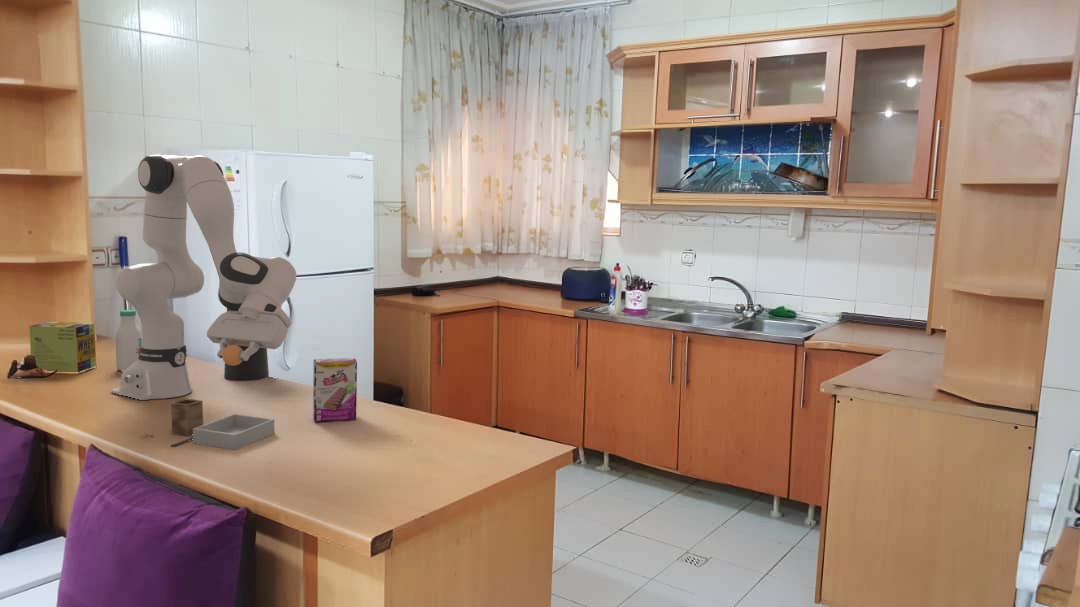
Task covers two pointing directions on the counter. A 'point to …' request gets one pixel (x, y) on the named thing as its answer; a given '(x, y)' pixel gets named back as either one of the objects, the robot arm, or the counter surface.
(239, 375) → the vase
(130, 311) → the milk bottle
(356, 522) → the counter surface
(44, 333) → the protein box
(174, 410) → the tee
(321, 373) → the candy bar box
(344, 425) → the counter surface
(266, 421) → the tray
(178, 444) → the line
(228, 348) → the ball
